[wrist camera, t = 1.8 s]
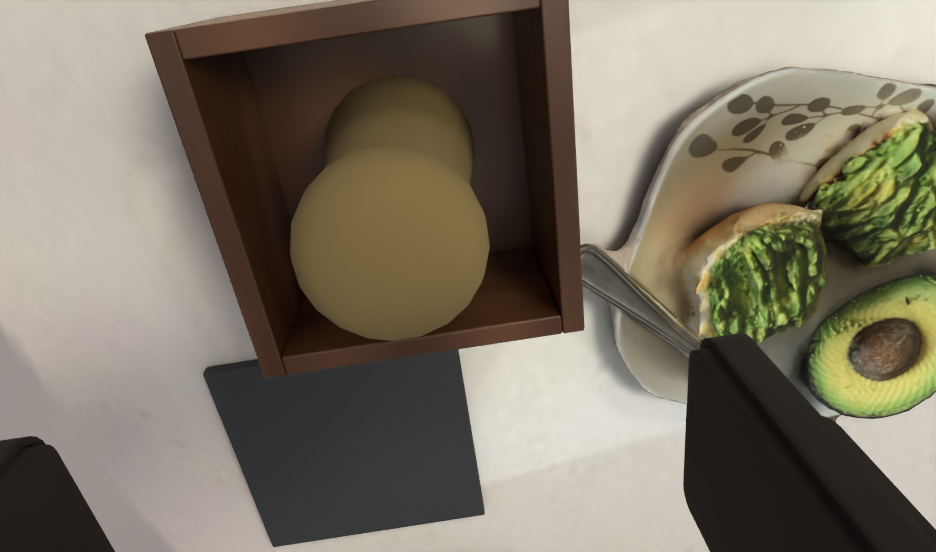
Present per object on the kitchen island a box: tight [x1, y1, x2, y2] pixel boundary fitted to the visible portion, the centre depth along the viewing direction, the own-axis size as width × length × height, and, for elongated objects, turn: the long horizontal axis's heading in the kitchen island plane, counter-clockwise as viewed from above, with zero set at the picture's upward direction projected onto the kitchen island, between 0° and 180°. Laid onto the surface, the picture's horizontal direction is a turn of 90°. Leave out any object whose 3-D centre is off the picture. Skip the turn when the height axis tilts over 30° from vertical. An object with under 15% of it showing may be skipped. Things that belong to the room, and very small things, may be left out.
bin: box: [145, 0, 584, 379], centre depth 22 cm, size 12×12×7 cm
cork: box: [290, 75, 490, 341], centre depth 19 cm, size 6×6×11 cm
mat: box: [203, 349, 485, 547], centre depth 31 cm, size 12×12×1 cm
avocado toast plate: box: [580, 67, 936, 422], centre depth 26 cm, size 19×18×5 cm
